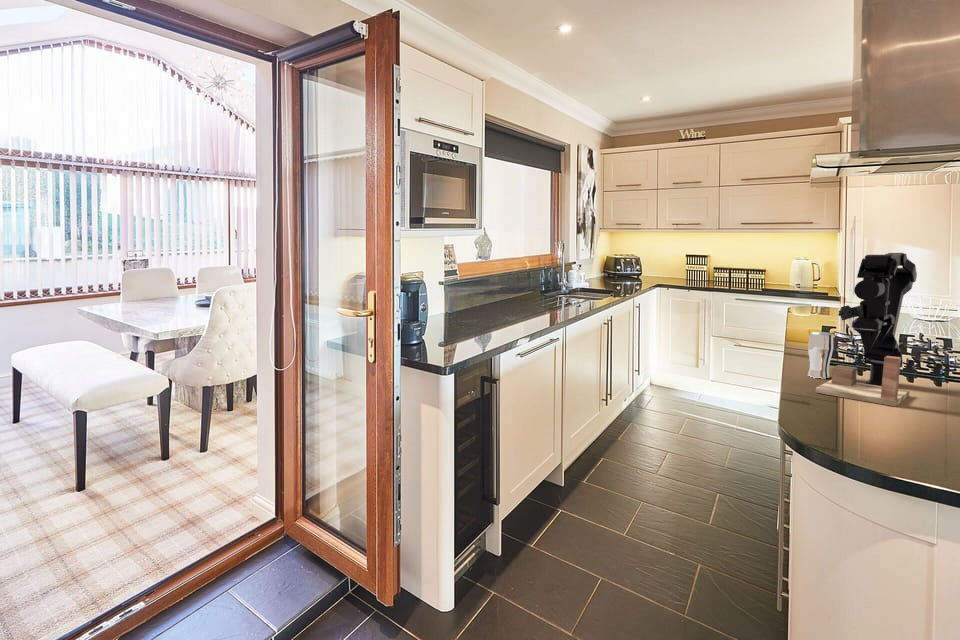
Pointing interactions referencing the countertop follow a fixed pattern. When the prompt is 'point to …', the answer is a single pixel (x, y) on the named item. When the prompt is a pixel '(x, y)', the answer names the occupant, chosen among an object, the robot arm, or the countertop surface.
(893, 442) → the countertop surface
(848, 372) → the walnut cube
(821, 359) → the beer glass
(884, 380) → the board with upright post
